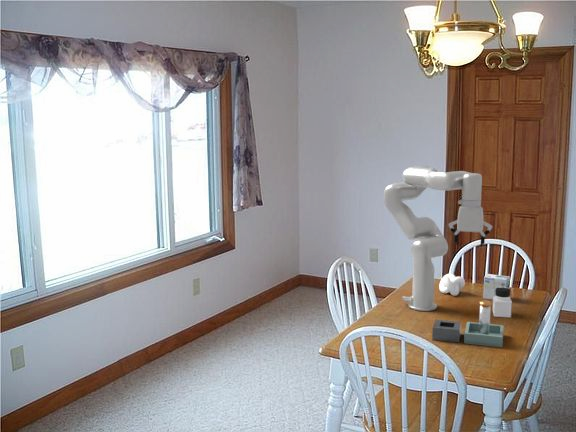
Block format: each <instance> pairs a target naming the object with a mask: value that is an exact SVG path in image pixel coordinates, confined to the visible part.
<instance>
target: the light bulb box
mask: <svg viewBox="0 0 576 432" xmlns="http://www.w3.org/2000/svg"><path fill="white" fill-rule="evenodd" d="M510 282H511V276H509V275H500V274H490V273H487V274H486V275H485V276H484V277H483V291H482V292H483V295H482V299H484V300H491V301H493V297H494V296H495V294H496V288H498V287H506V288H509V289H510V290H511V288H510V285H511V283H510Z"/></svg>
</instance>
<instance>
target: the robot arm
mask: <svg viewBox="0 0 576 432" xmlns="http://www.w3.org/2000/svg"><path fill="white" fill-rule="evenodd" d="M402 180H403V181H401V182H394V183H391V184H388V185H387V186H386V187H385V188H384V191H383V202H384V203H383V204H384V205H385V207H386V209H387V210H388V212H389V213H390V214H391V215H392V216H393V218H394V220H395V221H396V223H397V225H398V226H399V228H400V230H401V232H402V233H403V235H404V236H405V237H406V238H407V240H411V241H412V240H415V241H413V243H412V244H411V246H410V253H411V258H412V287H411V289H412V290H411V291H412V292H411V295H410V296H403V295H402V299H401V300H402V301H403V302H405V303H407V302H408V305H407V307H408V308H409V309H411V310H413V311H420V312H431V311H434V310H436V309H437V308H438V305H437V303H435V302H434V295H435V293H434V292H435V266H434V263H433V261H432V259H436V258H437V259H438V258H440V257H444V256H445V255H446V254H447V253H448V250H449V244H448V241H447V239H446V238H445V236H444V235H443V233H442V231H441V230H440V228H439V226H438V225H437V224H436V222H435V221H434V220H433V219H432V218H430V217H428V216H424V217H423V216H422V217H417V216H416V214H414V212H413V210H412V209H411V208H410V207H409V206H408V205H407V204H406V203H404V201H411V200H415V199H417V198H419V197H420V196H421V195H422V193H424V192H425V190H426V189H427V188H429V189H430V190H436V191H446V192H447V191H453V190H454V191H456V190H461V199H459V200H458V201H457V204H458V205H459V204H460V205H461V206H459V208H458V213H457V219H456V220H454V221H451V222H449V223H448V228H449V229H450V231H451V232H452V233H453V234H454V243H455V245H457V246H458V245H459V239H460V234H459V233H460V232H464V233H465V232H466V233H468V232H469V233H479V234H480V235H481V236H480V247H483V245H484V244H485V243H486V242H485V239H486V236H487V235H488V234H489V233H490V232H491V230H492V229H493V225H491V224H490V223H488V222H487V221H484V209H483V207H482V206H481V205H482V188H483V187H482V186H483V185H482V184H483V176H482V174H481V173H478V172H477V173H476V172H475V173H474V172H468V171H465V170H458V171H447V172H445V171H444V172H443V171H438V169H436V168H435V167H434V168H433V167H429V166H427V165H417V166H410V167H407V168H406V169H404V170H403V172H402ZM454 225H456V226H457V227H456V228H457V229H456V228H455V227H454ZM484 226H485V227H487V229H486V230H485V231H484Z"/></svg>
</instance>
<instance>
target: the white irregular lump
mask: <svg viewBox="0 0 576 432" xmlns="http://www.w3.org/2000/svg"><path fill="white" fill-rule="evenodd" d="M465 285H466V282H465V278H463V277H462V276H456V275H455V274H454V273H447V274H445V275H443V276H442V277H441V279H440V282H439V284H438V286H439V287H438V288H439V292H441V294H444V295H445V294H448V293H450V294H451V295H452V296H454V297H456V296H458V295H459V294H460V292H461V290H462V289H464V287H465Z"/></svg>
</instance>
